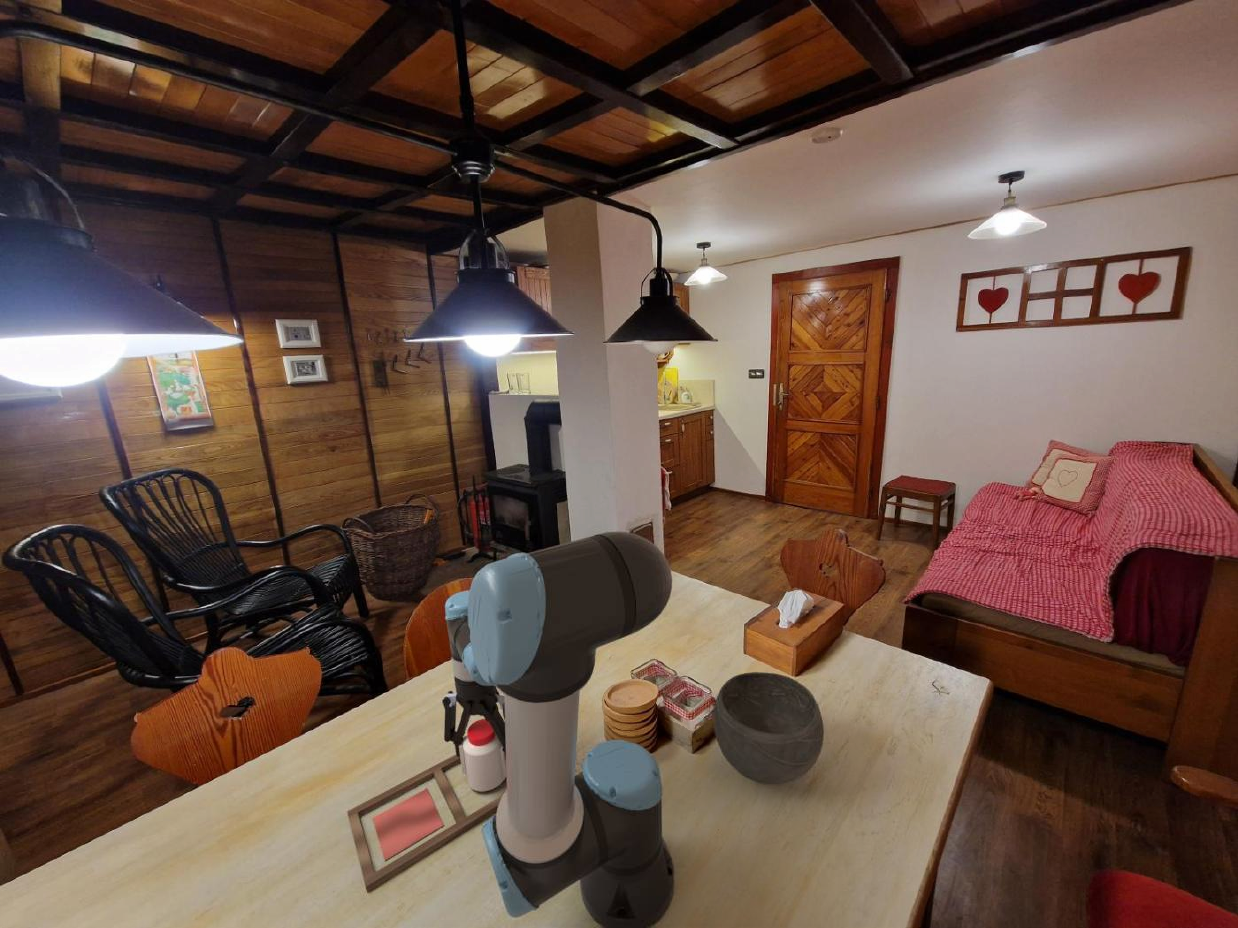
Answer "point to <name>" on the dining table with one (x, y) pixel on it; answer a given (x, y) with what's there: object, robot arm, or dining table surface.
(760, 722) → the bowl
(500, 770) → the pill bottle
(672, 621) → the dining table surface
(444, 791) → the divided wooden frame
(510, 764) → the robot arm
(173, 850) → the dining table surface
